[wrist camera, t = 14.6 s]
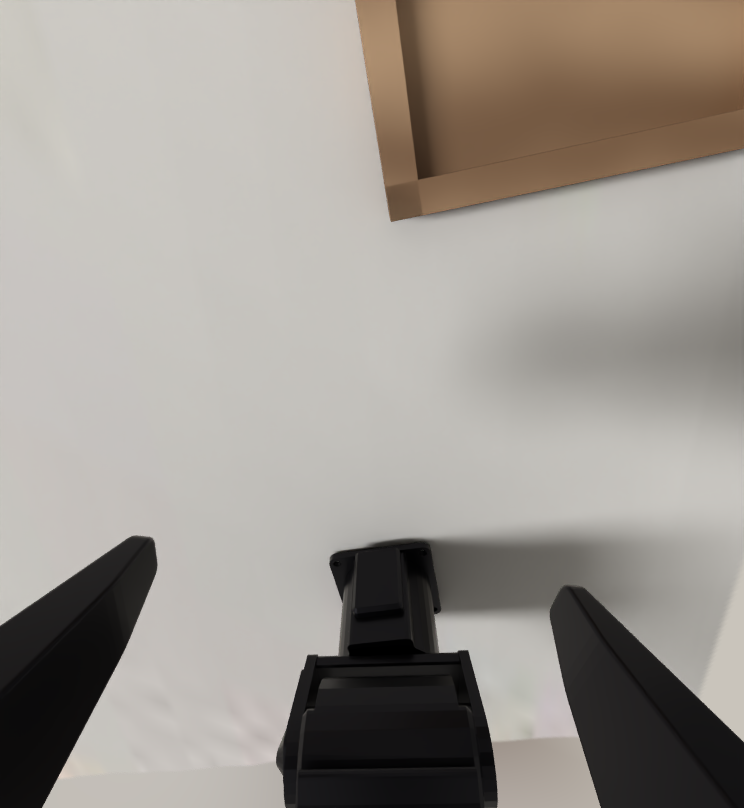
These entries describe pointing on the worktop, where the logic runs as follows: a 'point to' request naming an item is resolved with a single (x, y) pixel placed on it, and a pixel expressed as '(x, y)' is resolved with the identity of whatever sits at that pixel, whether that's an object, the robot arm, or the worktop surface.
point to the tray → (545, 92)
